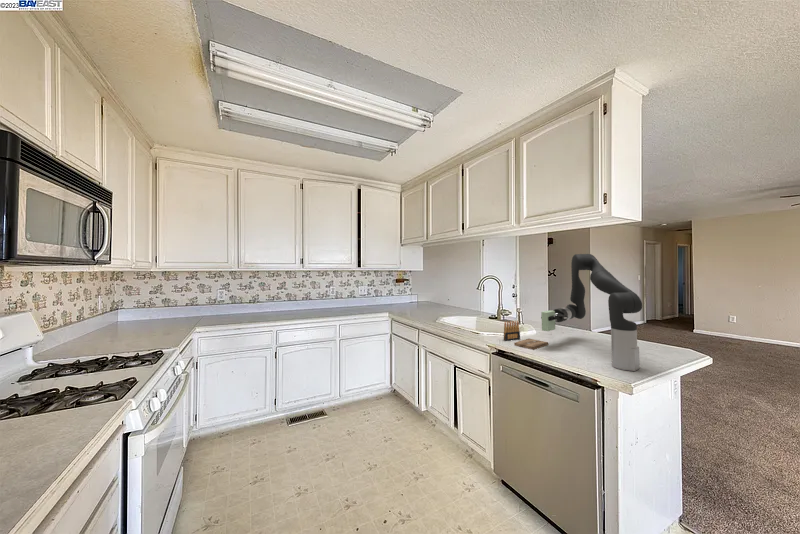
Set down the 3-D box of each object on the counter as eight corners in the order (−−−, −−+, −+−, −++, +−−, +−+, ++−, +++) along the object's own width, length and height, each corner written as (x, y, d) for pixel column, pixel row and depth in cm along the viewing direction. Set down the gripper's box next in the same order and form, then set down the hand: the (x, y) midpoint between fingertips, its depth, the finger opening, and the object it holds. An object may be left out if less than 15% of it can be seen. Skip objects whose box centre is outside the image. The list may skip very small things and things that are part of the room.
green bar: (555, 329, 162) (554, 310, 162) (547, 331, 157) (547, 312, 157) (549, 328, 165) (549, 310, 165) (541, 330, 160) (541, 312, 160)
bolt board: (548, 344, 170) (548, 341, 170) (533, 349, 162) (533, 346, 162) (528, 340, 180) (528, 338, 180) (514, 345, 171) (514, 342, 171)
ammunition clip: (518, 338, 186) (517, 319, 186) (520, 339, 184) (519, 320, 184) (503, 340, 183) (502, 321, 183) (505, 341, 181) (504, 321, 181)
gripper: (549, 306, 175) (532, 310, 165) (574, 309, 164) (558, 312, 154) (549, 319, 175) (533, 323, 165) (574, 322, 164) (558, 327, 154)
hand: (545, 318), depth 159 cm, fingers closed on green bar, 3 cm apart
